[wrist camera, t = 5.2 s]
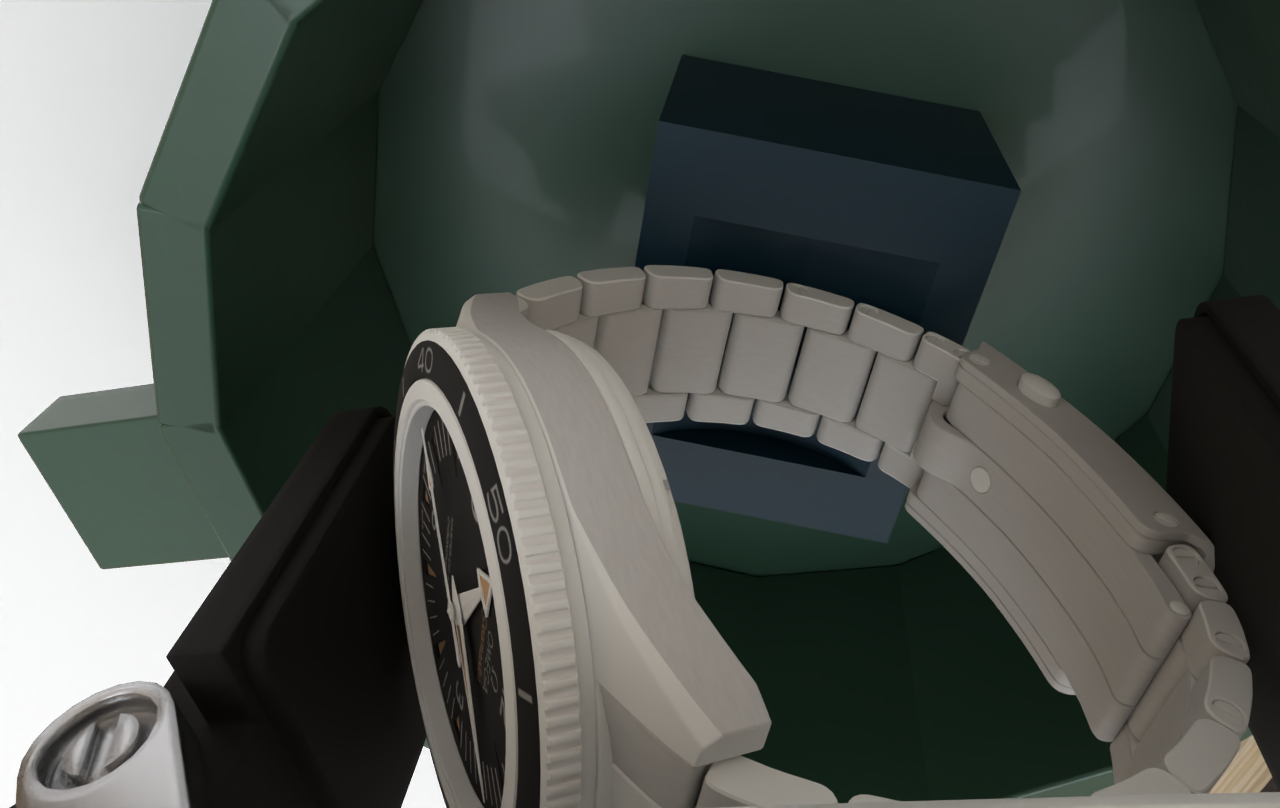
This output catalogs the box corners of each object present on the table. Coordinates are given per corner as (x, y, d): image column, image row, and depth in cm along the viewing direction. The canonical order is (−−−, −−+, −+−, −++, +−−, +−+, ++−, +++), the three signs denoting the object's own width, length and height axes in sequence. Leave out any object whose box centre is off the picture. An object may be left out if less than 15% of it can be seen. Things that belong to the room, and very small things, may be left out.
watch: (547, 28, 15) (146, 498, 6) (1102, 134, 15) (1639, 797, 5) (514, 359, 18) (220, 1015, 9) (972, 449, 18) (1172, 1214, 8)
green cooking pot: (22, -109, 15) (-355, -40, 10) (1638, -534, 11) (2363, -775, 6) (367, 622, 22) (248, 870, 17) (1404, 543, 18) (1636, 840, 13)
